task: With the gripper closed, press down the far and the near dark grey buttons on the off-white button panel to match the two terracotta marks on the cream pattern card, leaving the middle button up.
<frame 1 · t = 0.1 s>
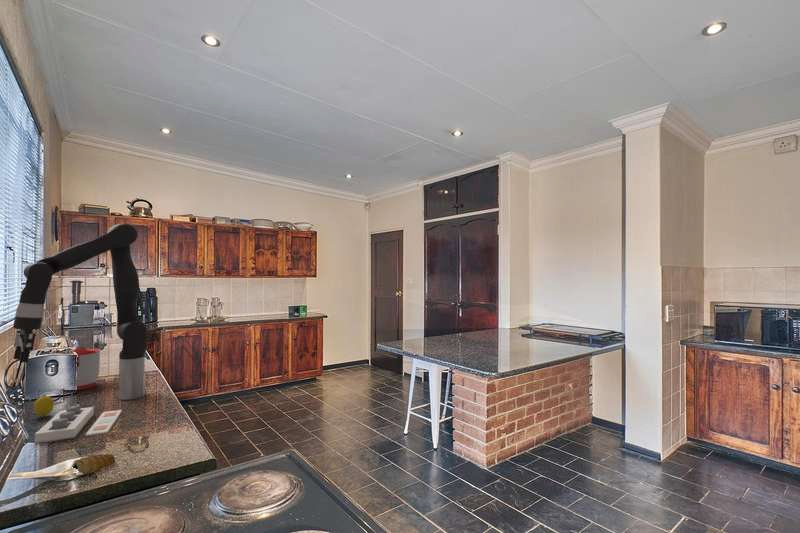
hand: (20, 360, 143), 22 cm above the countertop, tool pointing down, fingers open, 8 cm apart
lemon: (43, 417, 149), on the countertop
pattern card: (105, 422, 143), on the countertop
pastry: (91, 470, 110), on the countertop
button panel: (66, 427, 138), on the countertop
button near: (59, 424, 132), point 4 cm above the countertop, slide at 0.0 cm
button far: (73, 411, 145), point 4 cm above the countertop, slide at 0.0 cm
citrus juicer: (78, 389, 184), on the countertop
button middle: (67, 417, 138), point 4 cm above the countertop, slide at 0.0 cm
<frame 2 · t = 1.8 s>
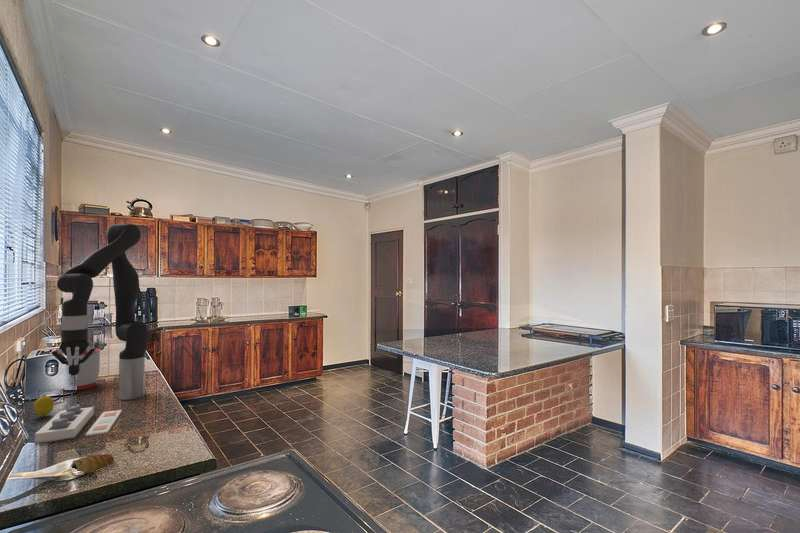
hand: (74, 375, 145), 17 cm above the countertop, tool pointing down, fingers closed
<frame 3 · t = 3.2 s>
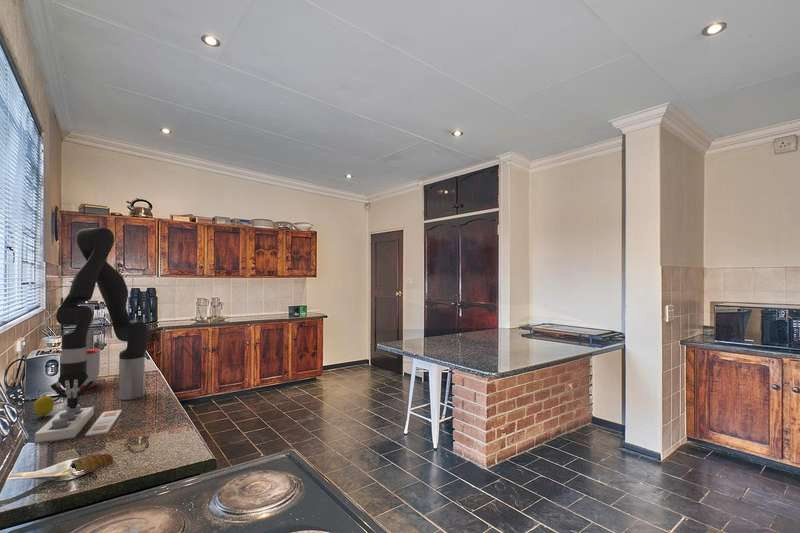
hand: (72, 407, 144), 5 cm above the countertop, tool pointing down, fingers closed
button far: (73, 411, 145), point 3 cm above the countertop, slide at 0.1 cm, touching gripper
everything else where it was.
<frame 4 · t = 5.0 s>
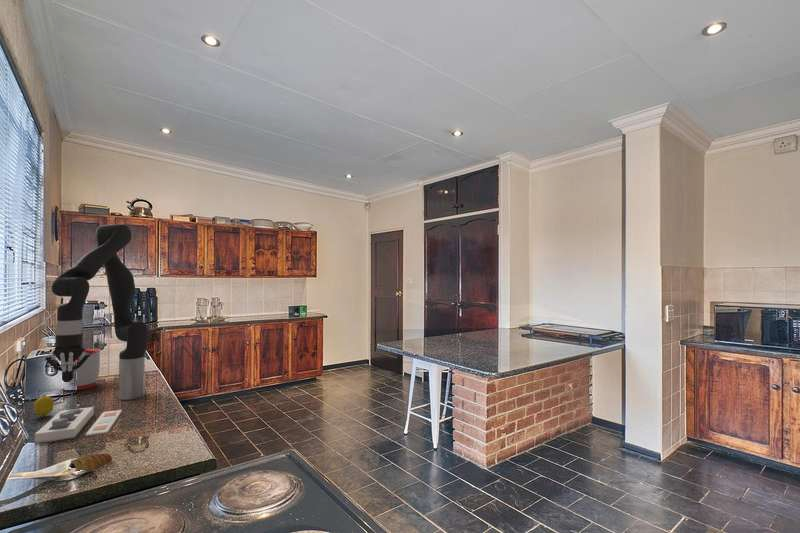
hand: (67, 381, 140), 16 cm above the countertop, tool pointing down, fingers closed
button far: (73, 415, 145), point 2 cm above the countertop, slide at 1.3 cm
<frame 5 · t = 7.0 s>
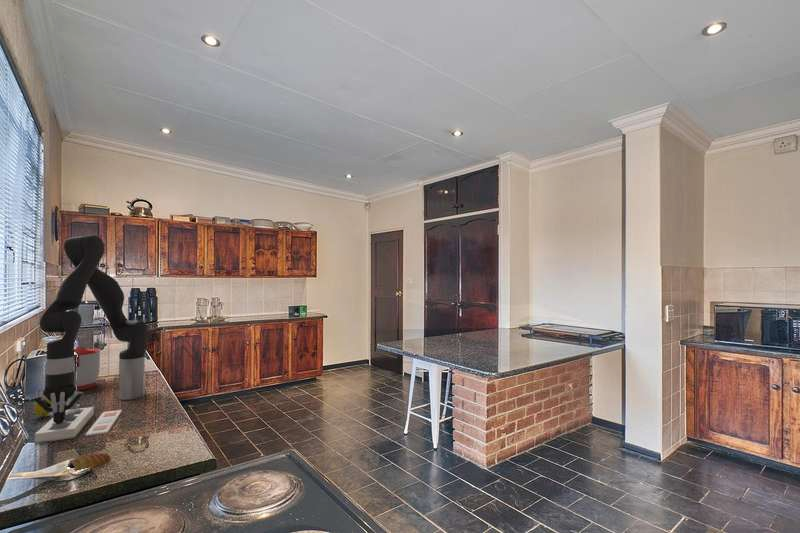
hand: (59, 422, 132), 4 cm above the countertop, tool pointing down, fingers closed
button near: (59, 427, 132), point 3 cm above the countertop, slide at 0.8 cm, touching gripper
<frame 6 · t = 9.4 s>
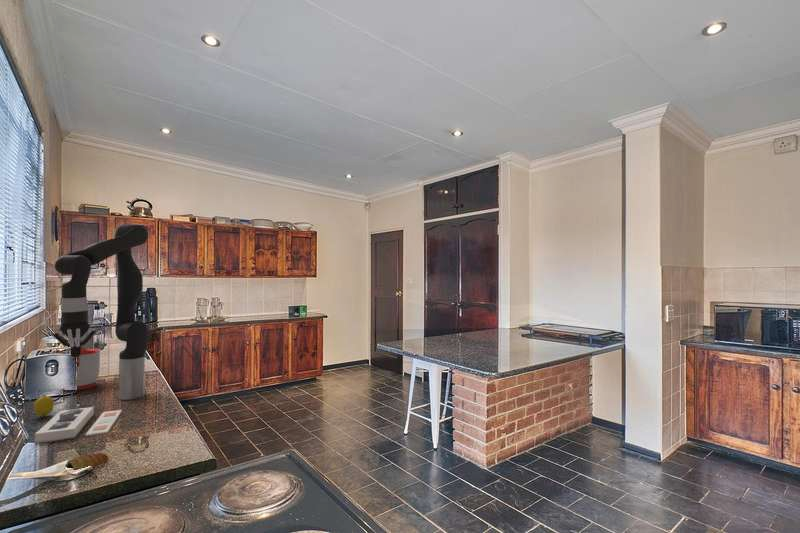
hand: (76, 356, 145), 23 cm above the countertop, tool pointing down, fingers closed
button near: (59, 428, 132), point 2 cm above the countertop, slide at 1.3 cm
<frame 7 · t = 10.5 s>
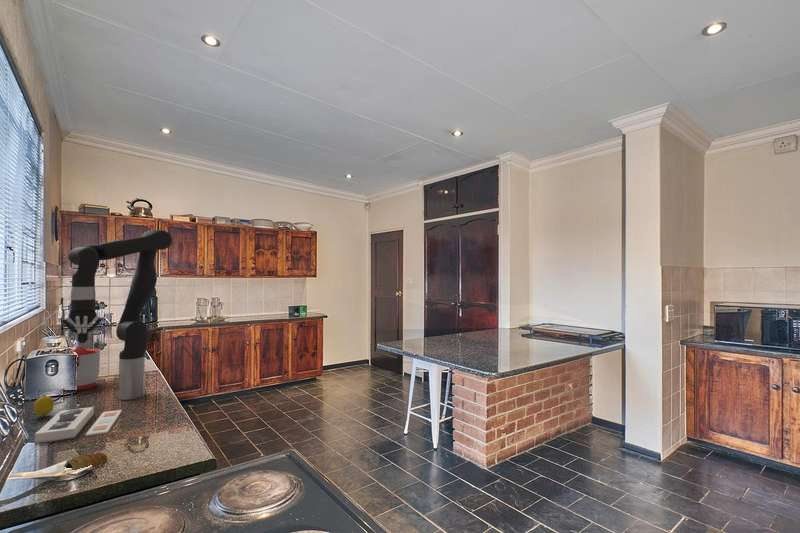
hand: (82, 342, 154), 27 cm above the countertop, tool pointing down, fingers closed
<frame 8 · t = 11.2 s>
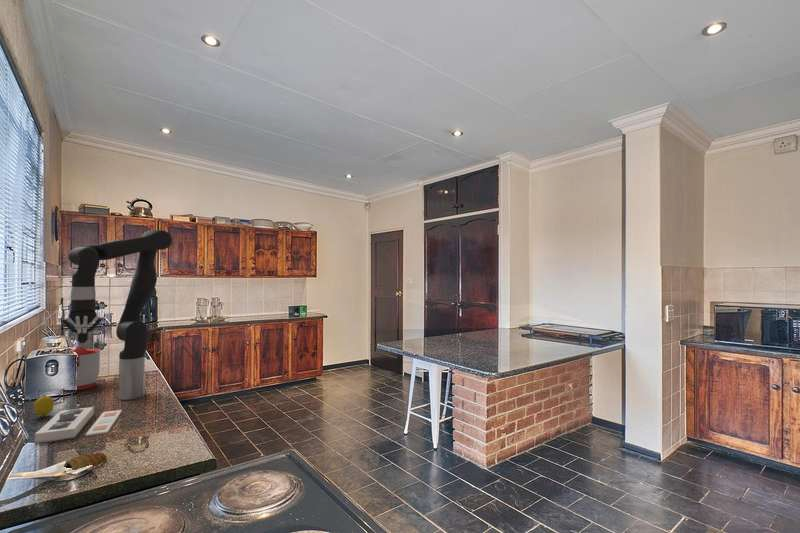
hand: (82, 342, 154), 27 cm above the countertop, tool pointing down, fingers closed
at the end: button far slide at 1.3 cm; button near slide at 1.3 cm; button middle slide at 0.0 cm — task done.
